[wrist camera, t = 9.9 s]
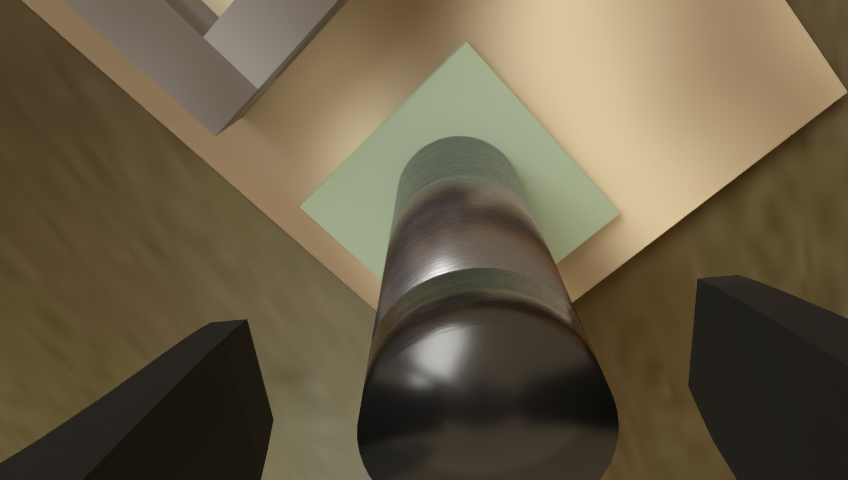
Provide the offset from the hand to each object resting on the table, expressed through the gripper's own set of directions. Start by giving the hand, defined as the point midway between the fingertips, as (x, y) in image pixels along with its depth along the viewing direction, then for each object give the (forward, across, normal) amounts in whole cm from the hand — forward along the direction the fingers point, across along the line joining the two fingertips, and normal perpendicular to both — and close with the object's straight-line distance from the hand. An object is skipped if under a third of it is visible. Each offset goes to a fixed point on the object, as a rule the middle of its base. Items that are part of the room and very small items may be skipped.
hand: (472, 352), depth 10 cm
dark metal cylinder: (+7, 0, 0) cm, 7 cm away
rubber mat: (+7, 0, 0) cm, 7 cm away
